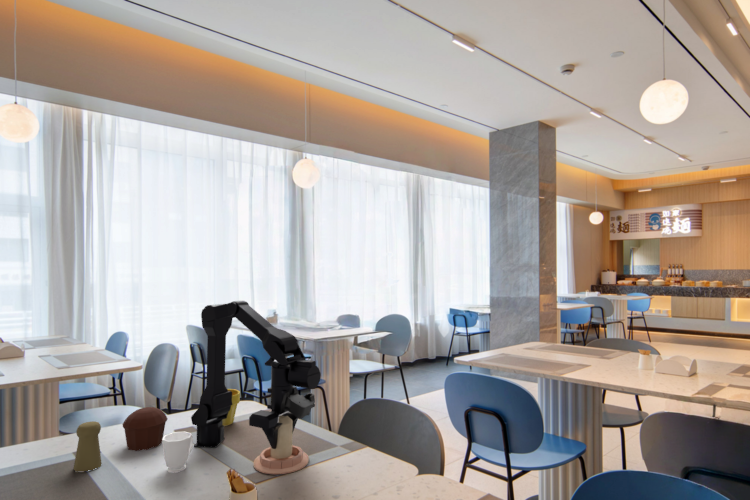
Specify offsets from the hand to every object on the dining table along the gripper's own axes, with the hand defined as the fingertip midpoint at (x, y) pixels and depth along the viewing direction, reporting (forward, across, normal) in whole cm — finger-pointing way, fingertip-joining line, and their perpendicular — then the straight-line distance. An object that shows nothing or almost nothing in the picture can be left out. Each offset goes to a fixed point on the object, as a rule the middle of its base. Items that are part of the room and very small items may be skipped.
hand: (281, 444), depth 116 cm
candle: (+3, 0, 0) cm, 3 cm away
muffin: (+5, -8, +42) cm, 43 cm away
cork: (+5, -24, +42) cm, 49 cm away
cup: (+5, -14, +21) cm, 26 cm away
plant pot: (+5, +15, +36) cm, 39 cm away
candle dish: (+4, 0, 0) cm, 4 cm away
